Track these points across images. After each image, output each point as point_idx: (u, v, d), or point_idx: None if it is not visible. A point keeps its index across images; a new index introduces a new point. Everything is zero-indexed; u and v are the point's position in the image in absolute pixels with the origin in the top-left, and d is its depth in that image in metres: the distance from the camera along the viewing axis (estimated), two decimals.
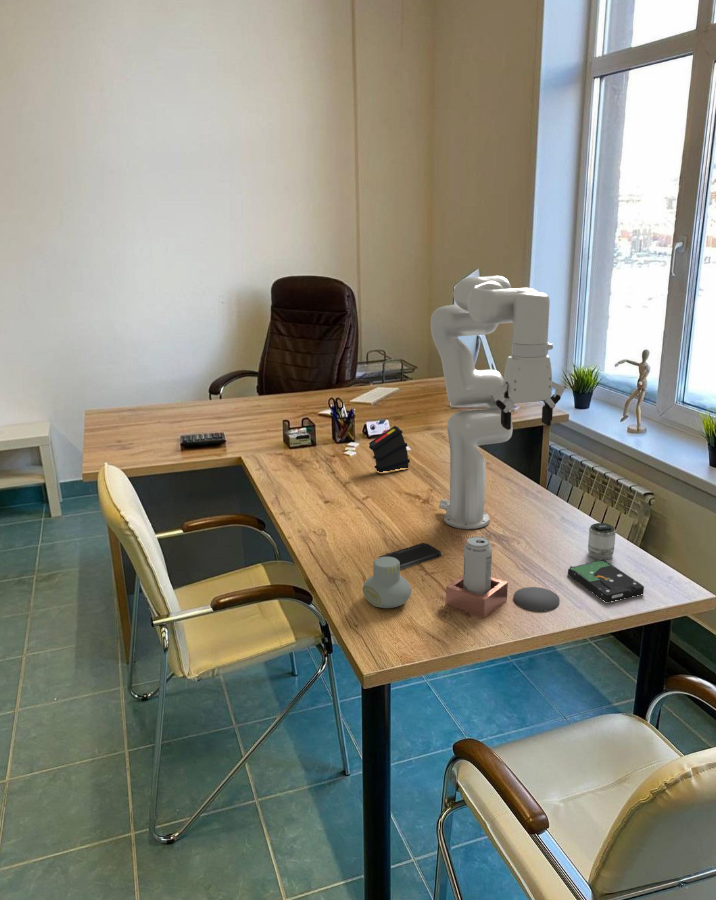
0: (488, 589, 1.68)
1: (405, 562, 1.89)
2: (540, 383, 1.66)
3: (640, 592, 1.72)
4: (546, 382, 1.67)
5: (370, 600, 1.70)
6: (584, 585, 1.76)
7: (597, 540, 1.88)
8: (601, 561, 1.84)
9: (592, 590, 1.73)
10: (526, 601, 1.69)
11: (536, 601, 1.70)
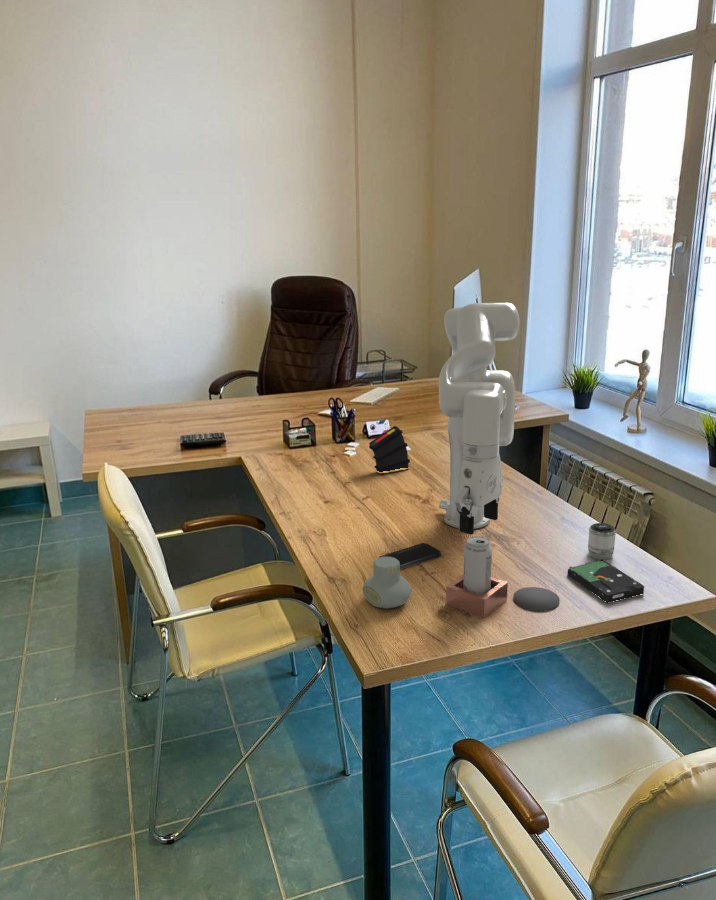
0: (488, 589, 1.68)
1: (405, 562, 1.89)
2: None
3: (640, 592, 1.72)
4: None
5: (370, 600, 1.70)
6: (584, 585, 1.76)
7: (597, 540, 1.88)
8: (600, 561, 1.84)
9: (592, 590, 1.73)
10: (526, 601, 1.69)
11: (536, 601, 1.70)
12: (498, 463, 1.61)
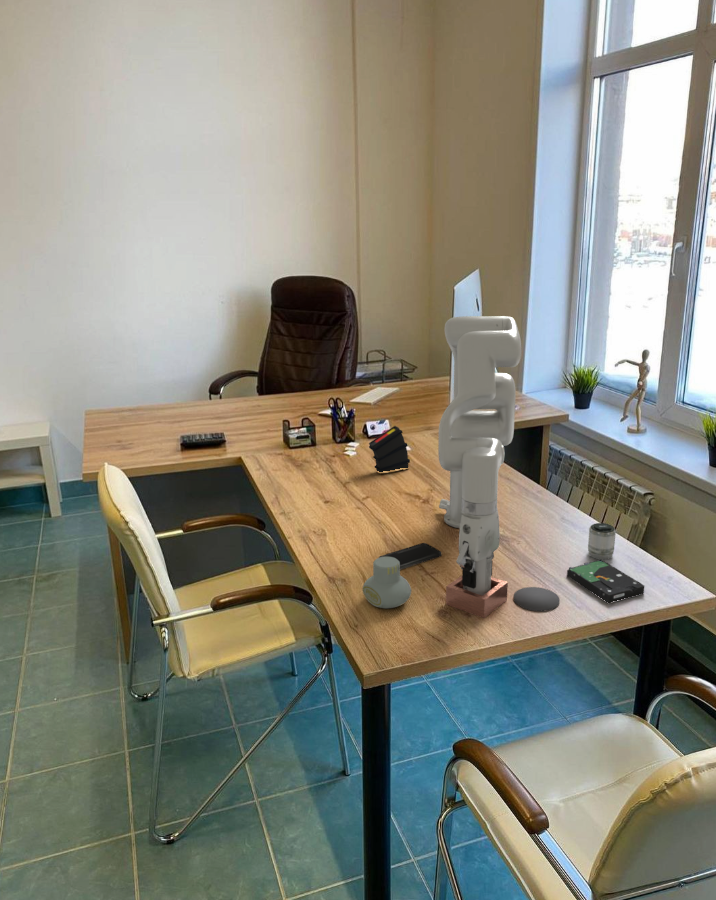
0: (488, 589, 1.68)
1: (405, 562, 1.89)
2: None
3: (641, 591, 1.72)
4: None
5: (370, 600, 1.70)
6: (584, 586, 1.76)
7: (597, 540, 1.88)
8: (599, 561, 1.84)
9: (593, 590, 1.73)
10: (526, 601, 1.69)
11: (536, 601, 1.70)
12: (496, 517, 1.65)
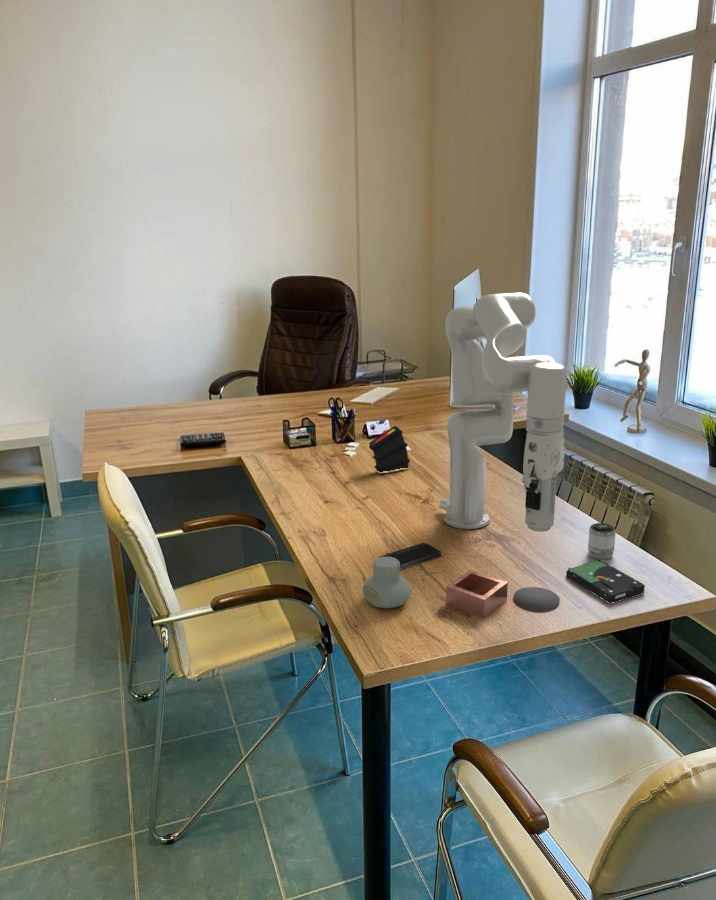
0: (552, 512, 1.62)
1: (405, 562, 1.89)
2: None
3: (641, 591, 1.72)
4: None
5: (370, 600, 1.70)
6: (585, 586, 1.75)
7: (597, 540, 1.88)
8: (597, 561, 1.84)
9: (594, 591, 1.73)
10: (526, 601, 1.69)
11: (536, 601, 1.70)
12: (562, 437, 1.60)
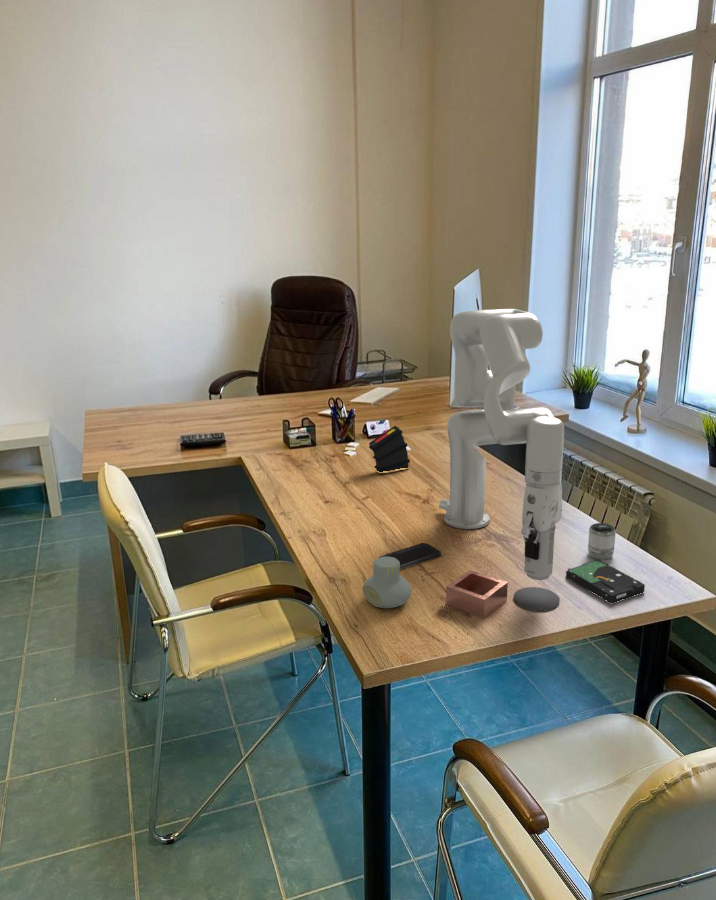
0: (551, 561, 1.66)
1: (405, 562, 1.89)
2: None
3: (641, 590, 1.72)
4: None
5: (370, 600, 1.70)
6: (585, 587, 1.75)
7: (597, 540, 1.88)
8: (596, 561, 1.84)
9: (595, 591, 1.73)
10: (526, 601, 1.69)
11: (536, 601, 1.70)
12: (560, 488, 1.63)
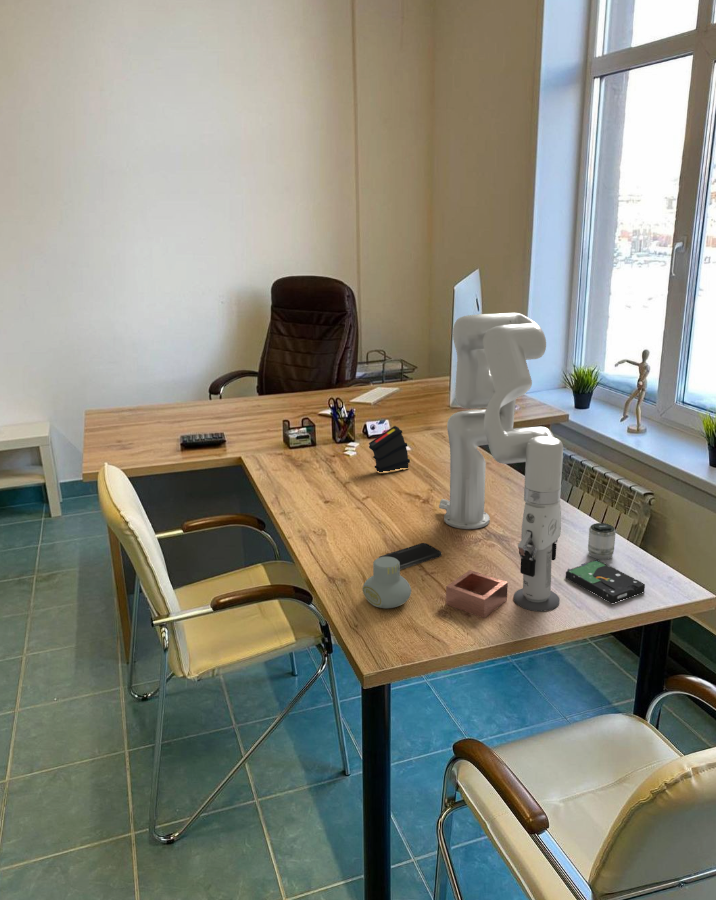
0: (549, 583, 1.68)
1: (405, 562, 1.89)
2: None
3: (641, 590, 1.73)
4: None
5: (370, 600, 1.70)
6: (586, 587, 1.75)
7: (597, 540, 1.88)
8: (595, 561, 1.84)
9: (595, 592, 1.73)
10: (526, 601, 1.69)
11: None
12: (558, 507, 1.65)
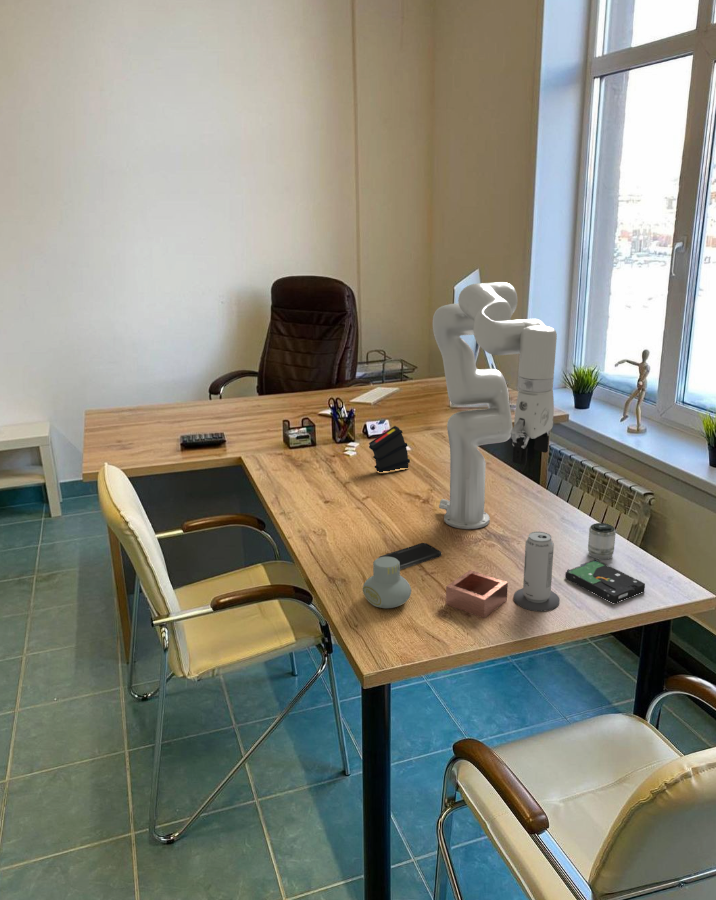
0: (549, 584, 1.68)
1: (405, 562, 1.89)
2: None
3: (642, 590, 1.73)
4: None
5: (370, 600, 1.70)
6: (586, 588, 1.75)
7: (597, 540, 1.88)
8: (594, 561, 1.84)
9: (596, 592, 1.72)
10: (526, 601, 1.69)
11: None
12: (551, 397, 1.68)
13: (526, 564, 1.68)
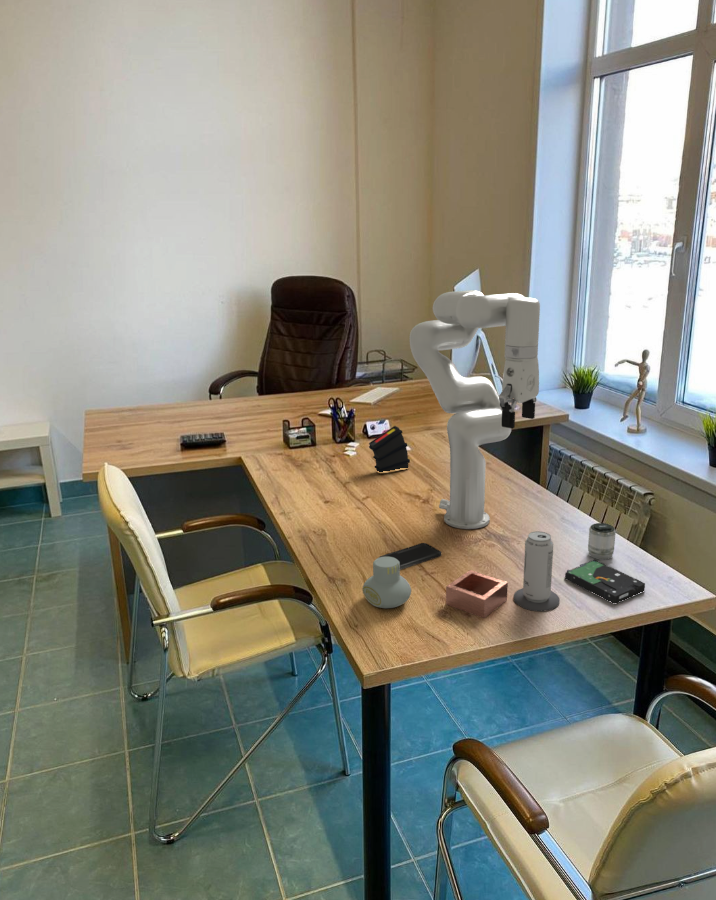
0: (549, 584, 1.68)
1: (405, 562, 1.89)
2: None
3: (642, 589, 1.73)
4: None
5: (370, 600, 1.70)
6: (586, 588, 1.75)
7: (597, 540, 1.88)
8: (593, 561, 1.84)
9: (597, 592, 1.72)
10: (526, 601, 1.69)
11: None
12: (536, 365, 1.79)
13: (526, 564, 1.68)
